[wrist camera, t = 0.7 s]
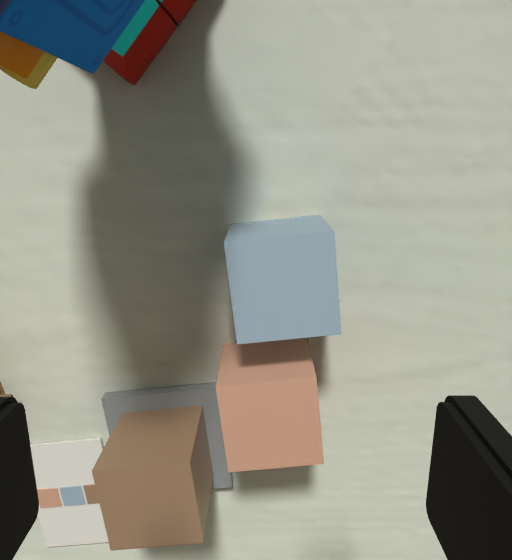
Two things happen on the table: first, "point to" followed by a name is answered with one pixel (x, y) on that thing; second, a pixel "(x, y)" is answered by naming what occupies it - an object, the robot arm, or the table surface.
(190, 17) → the table surface
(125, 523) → the base
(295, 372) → the terracotta block
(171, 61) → the table surface
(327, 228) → the blue block
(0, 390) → the alarm clock
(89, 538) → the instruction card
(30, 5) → the toy robot
